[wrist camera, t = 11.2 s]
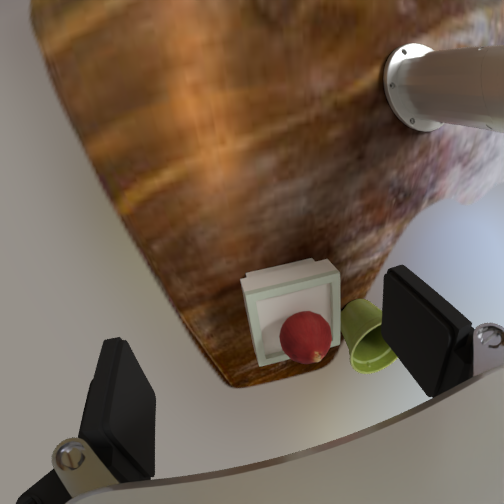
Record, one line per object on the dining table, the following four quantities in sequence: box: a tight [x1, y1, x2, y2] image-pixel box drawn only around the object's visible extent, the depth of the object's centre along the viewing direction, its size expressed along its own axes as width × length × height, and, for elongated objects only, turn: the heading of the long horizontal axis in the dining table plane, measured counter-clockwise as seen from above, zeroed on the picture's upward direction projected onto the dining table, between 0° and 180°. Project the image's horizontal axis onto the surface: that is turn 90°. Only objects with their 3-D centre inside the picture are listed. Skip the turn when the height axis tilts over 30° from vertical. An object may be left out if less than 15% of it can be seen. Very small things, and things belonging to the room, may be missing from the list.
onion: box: [279, 311, 332, 364], centre depth 35 cm, size 6×6×8 cm
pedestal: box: [240, 258, 341, 367], centre depth 41 cm, size 11×11×7 cm
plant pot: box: [340, 299, 398, 374], centre depth 44 cm, size 9×9×9 cm
